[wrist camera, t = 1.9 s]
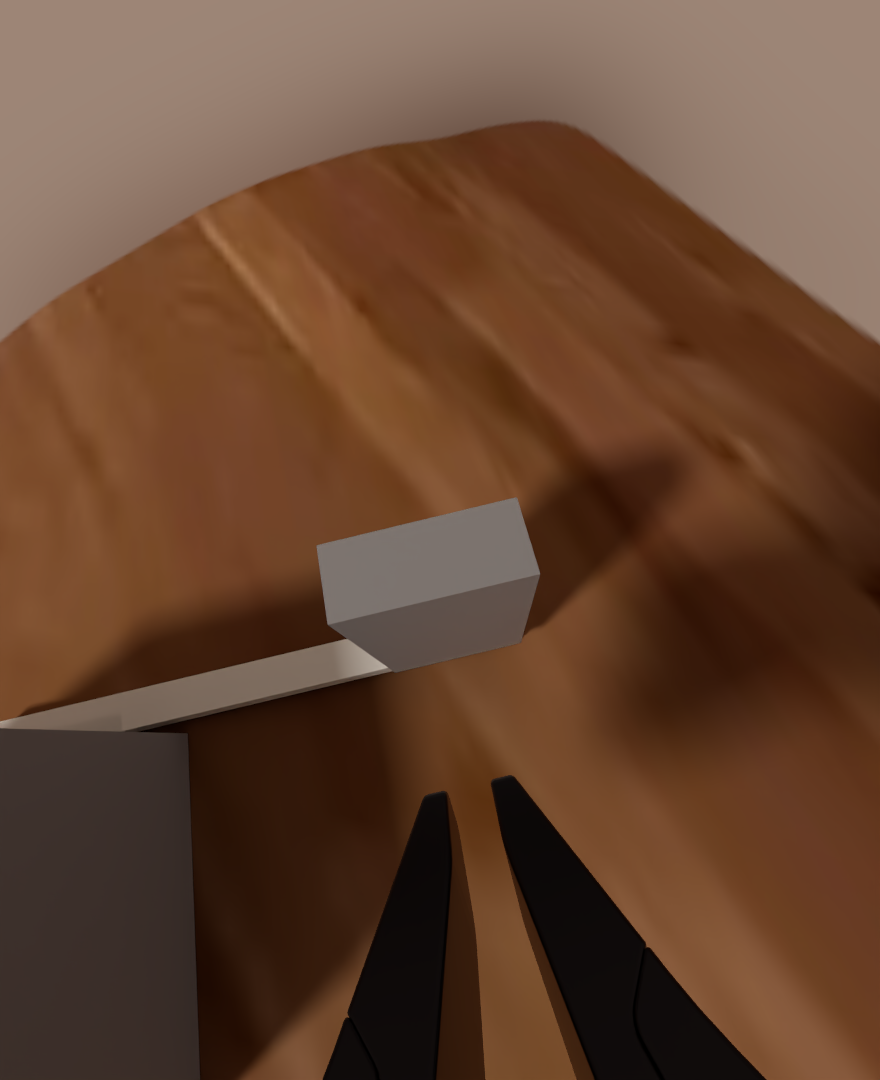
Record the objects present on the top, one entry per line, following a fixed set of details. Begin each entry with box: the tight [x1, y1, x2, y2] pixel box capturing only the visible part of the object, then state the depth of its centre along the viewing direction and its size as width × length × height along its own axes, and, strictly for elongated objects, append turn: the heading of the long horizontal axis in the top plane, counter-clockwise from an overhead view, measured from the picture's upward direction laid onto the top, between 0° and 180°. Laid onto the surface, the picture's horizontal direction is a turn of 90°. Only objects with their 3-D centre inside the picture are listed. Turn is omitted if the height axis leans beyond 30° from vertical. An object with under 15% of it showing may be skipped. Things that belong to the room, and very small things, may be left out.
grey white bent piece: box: [0, 497, 540, 732], centre depth 16 cm, size 9×22×10 cm, turn 102°
